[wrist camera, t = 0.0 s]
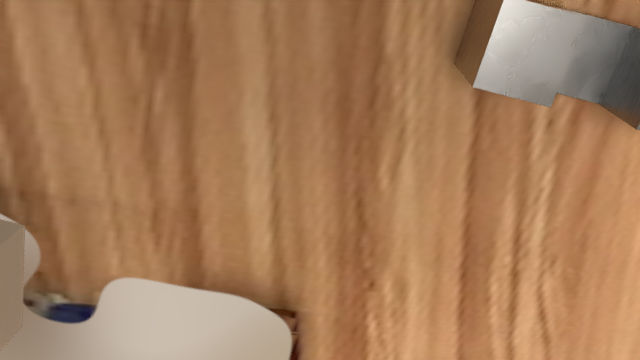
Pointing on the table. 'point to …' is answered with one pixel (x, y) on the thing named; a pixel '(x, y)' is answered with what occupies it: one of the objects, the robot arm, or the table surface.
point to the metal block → (552, 55)
